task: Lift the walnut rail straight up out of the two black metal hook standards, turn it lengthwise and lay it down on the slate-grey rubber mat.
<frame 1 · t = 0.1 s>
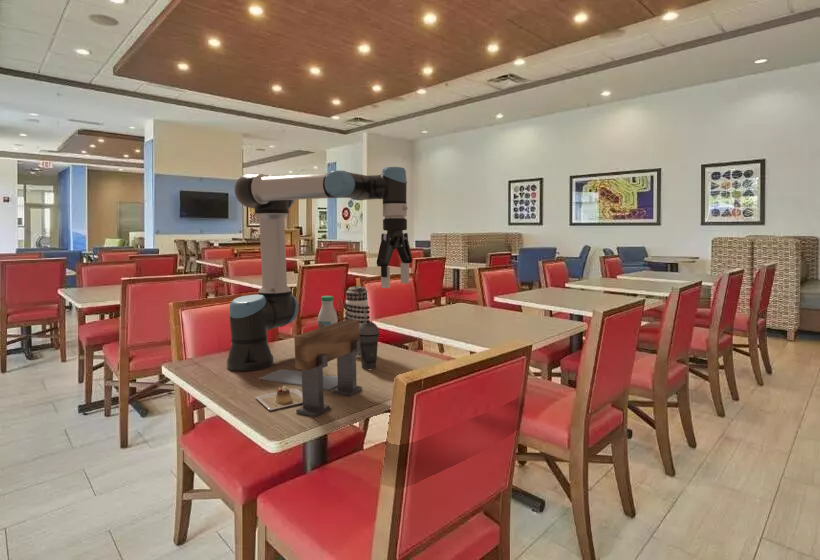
hand: (395, 285, 153), 28 cm above the table, tool pointing down, fingers open, 13 cm apart
mat: (304, 379, 148), on the table
standards: (331, 400, 130), on the table
dessert: (283, 402, 131), on the table
milk bottle: (328, 347, 189), on the table
beverage cup: (369, 368, 160), on the table
rail: (330, 357, 128), point 12 cm above the table, touching standards
decorative candle: (358, 355, 177), on the table
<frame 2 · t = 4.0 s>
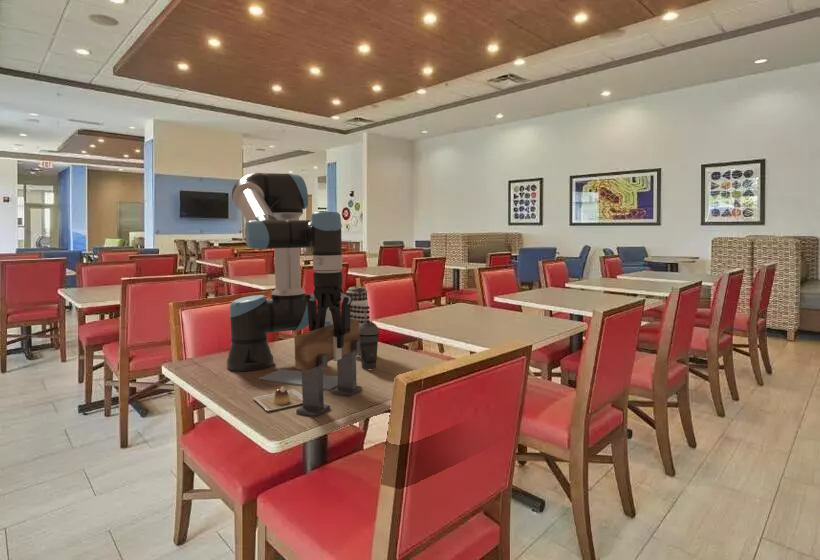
hand: (330, 358, 128), 12 cm above the table, tool pointing down, fingers closed on rail, 4 cm apart
rail: (330, 357, 128), point 12 cm above the table, touching gripper, standards
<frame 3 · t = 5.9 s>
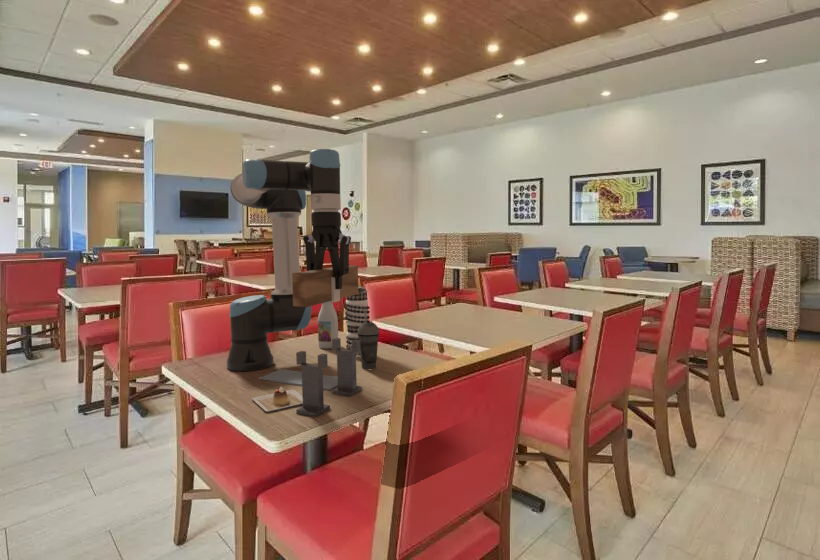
hand: (328, 300, 127), 27 cm above the table, tool pointing down, fingers closed on rail, 4 cm apart
rail: (328, 299, 127), point 28 cm above the table, touching gripper
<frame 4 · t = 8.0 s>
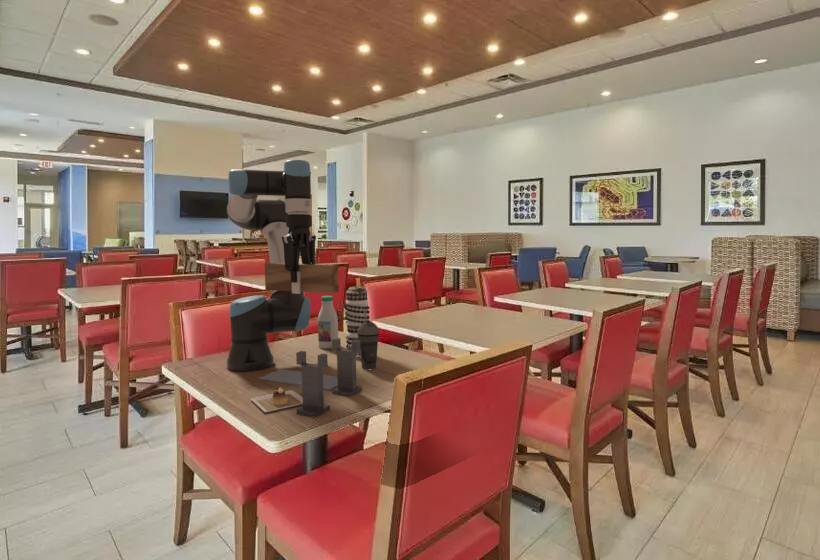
hand: (301, 292, 145), 27 cm above the table, tool pointing down, fingers closed on rail, 4 cm apart
rail: (301, 290, 145), point 28 cm above the table, touching gripper
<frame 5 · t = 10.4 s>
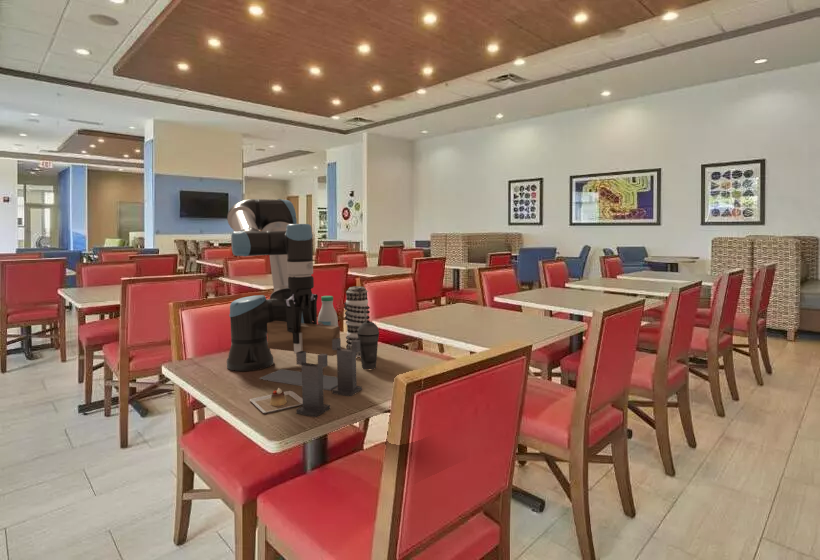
hand: (303, 351, 147), 9 cm above the table, tool pointing down, fingers closed on rail, 4 cm apart
rail: (303, 350, 147), point 9 cm above the table, touching gripper
when the fingers open (2 cm above the table, at t = 12.1 s): rail drops 2 cm, resting on mat.
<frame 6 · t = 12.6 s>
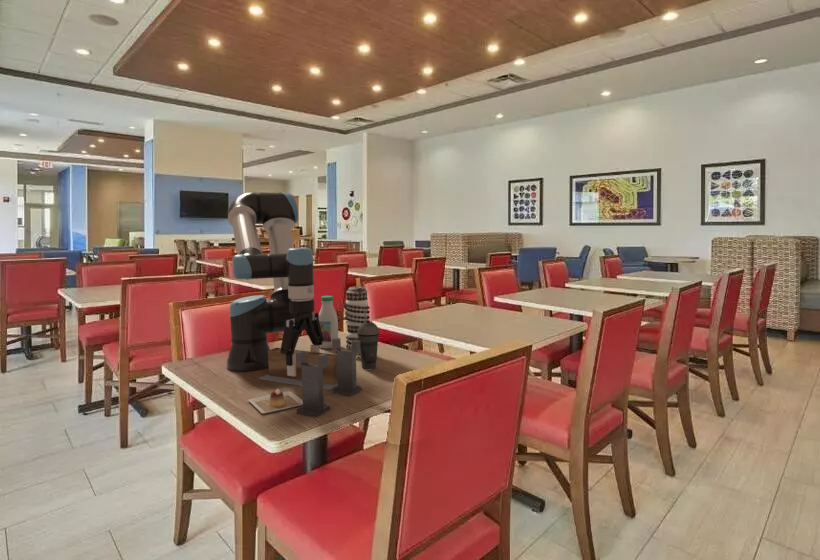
hand: (303, 370, 148), 3 cm above the table, tool pointing down, fingers open, 11 cm apart
rail: (304, 378, 148), resting on mat
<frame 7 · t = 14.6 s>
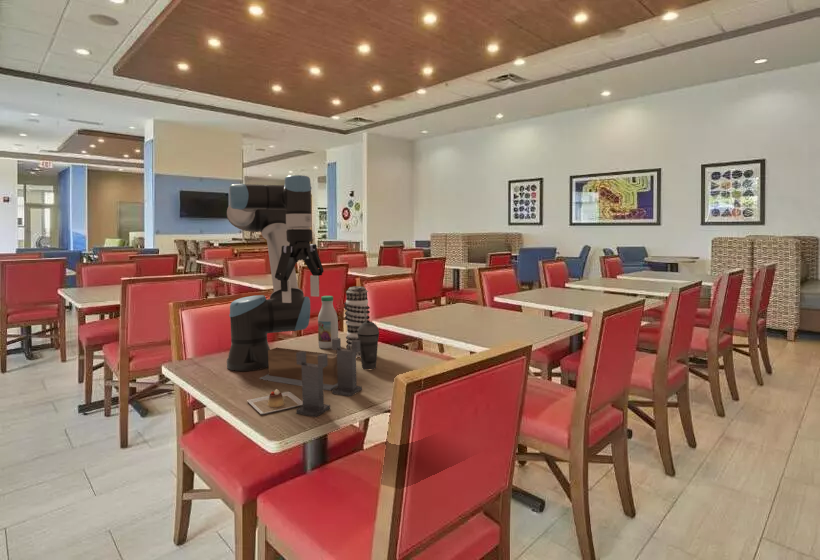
hand: (301, 299, 146), 25 cm above the table, tool pointing down, fingers open, 13 cm apart
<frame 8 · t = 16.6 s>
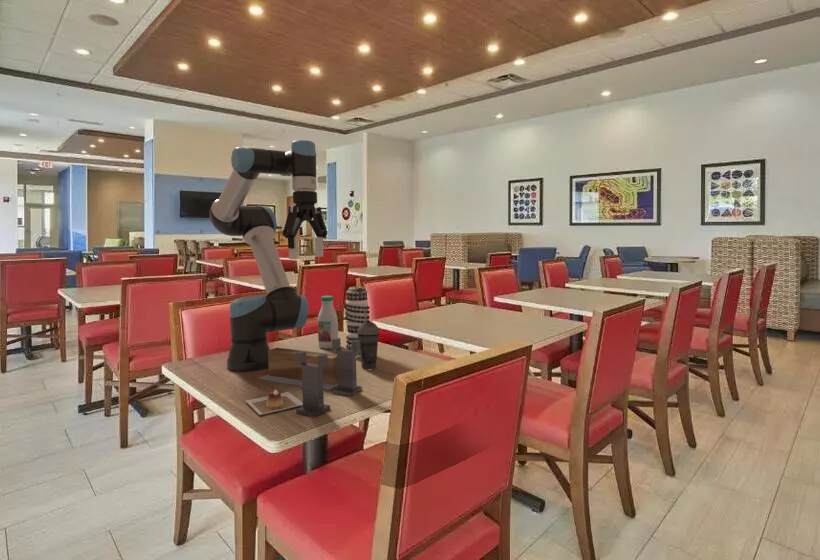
hand: (307, 258, 155), 37 cm above the table, tool pointing down, fingers open, 13 cm apart
at the end: rail inside the target area on the mat (0.0 cm from its centre), point 0.5 cm above the mat's base; rail touching mat; the gripper is holding nothing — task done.
